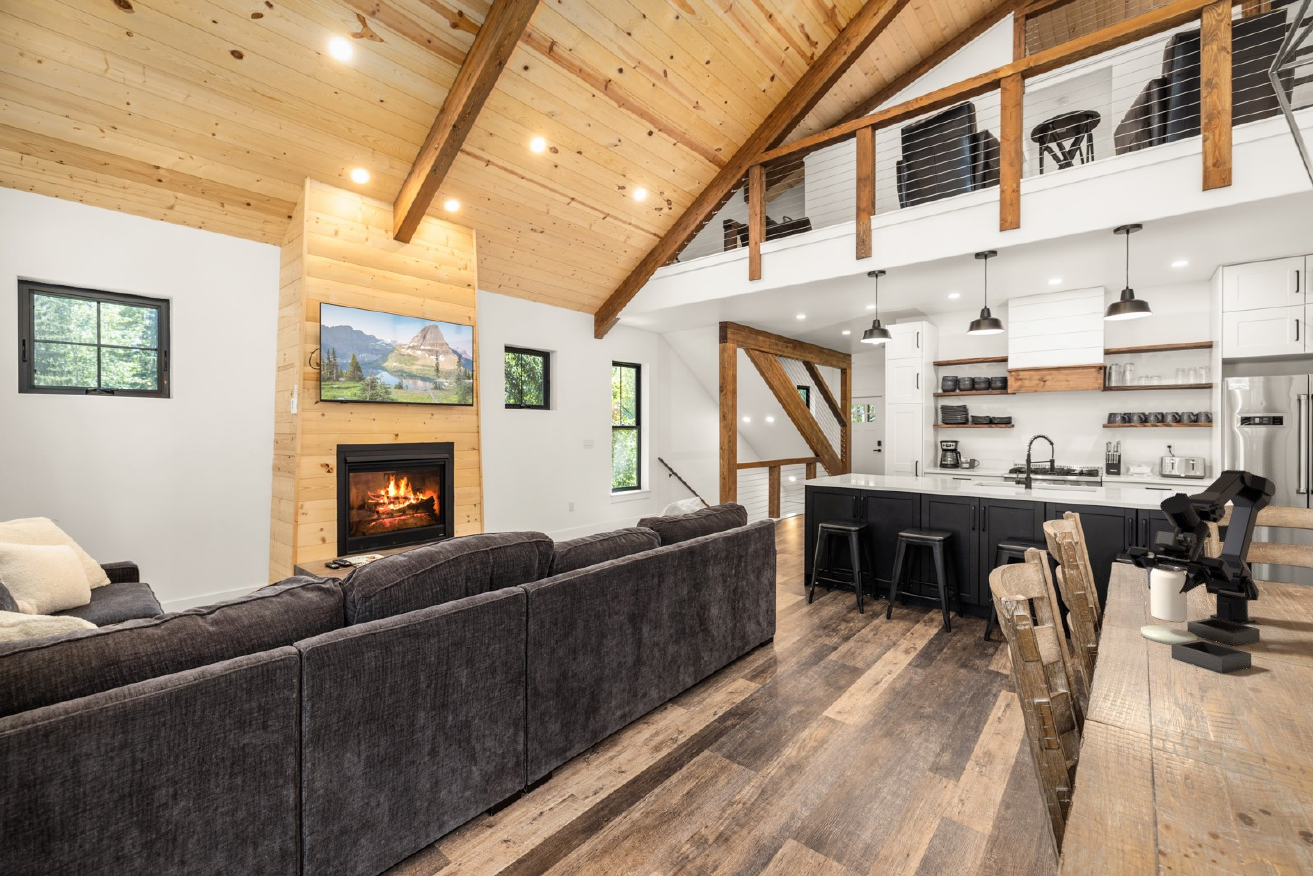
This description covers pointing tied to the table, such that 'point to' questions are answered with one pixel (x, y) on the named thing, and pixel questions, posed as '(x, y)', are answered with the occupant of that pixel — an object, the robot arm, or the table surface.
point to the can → (1168, 594)
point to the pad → (1166, 634)
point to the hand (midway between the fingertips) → (1164, 591)
